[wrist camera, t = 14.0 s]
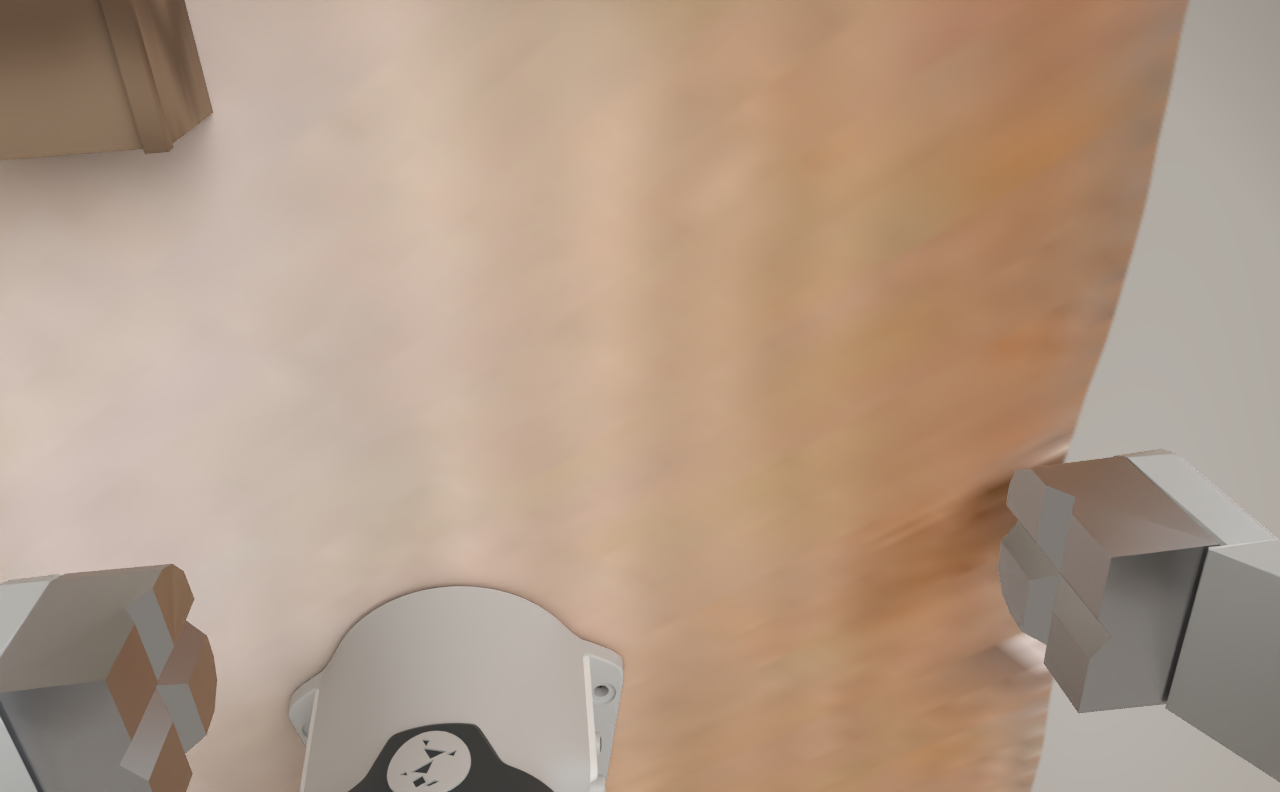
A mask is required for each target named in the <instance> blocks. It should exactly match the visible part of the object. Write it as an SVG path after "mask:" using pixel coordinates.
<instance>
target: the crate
mask: <svg viewBox="0 0 1280 792" xmlns="http://www.w3.org/2000/svg"><path fill="white" fill-rule="evenodd" d="M211 113H213V111H212V107H211V103H210V99H209V95H208V91H207V87H206V83H205V80H204V76H203V72H202V68H201V64H200V60H199V56H198V52H197V48H196V44H195V40H194V37H193V33H192V29H191V25H190V21H189V17H188V13H187V9H186V5H185V1H184V0H0V160H9V159H21V158H34V157H46V156H58V155H70V154H83V153H95V152H107V151H119V150H132V149H144V152H145V154H147V153H159V152H168V151H170V150H171V149H172V148H173V145H172V143H173V142H175V141H176V140H177V139H178V138H180V137H181V136H182V135H184V134H185V133H186V132H188V131H189V130H190V129H192V128H193V127H194V126H196V125H197V124H198V123H200V122H201V121H202V120H203V119H205V118H206V117H207V116H209V115H210V114H211Z"/></svg>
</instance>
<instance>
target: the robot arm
mask: <svg viewBox="0 0 1280 792" xmlns="http://www.w3.org/2000/svg"><path fill="white" fill-rule="evenodd" d="M1006 505H1007V506H1008V508H1009V509H1010V510H1011V512H1012V513H1013V514H1014V516H1015V517H1016V518H1017V520H1018V522H1017V523H1016V524H1015V526H1014V527H1013V528H1012V529H1011V530H1010V531H1009V532H1008V534H1007V535H1006V536H1005V537H1004V538H1003V539H1002V541H1001V546H1000V556H999V566H998V570H999V576H1000V583H1001V589H1002V595H1003V597H1004V600H1005V602H1006V605H1007V607H1008V609H1009V612H1010V614H1011V616H1012V617H1013V619H1014V620H1015V622H1016V623H1017V625H1018V626H1019V628H1020V629H1021V631H1022V632H1024V633H1026V634H1028V635H1029V636H1031V637H1033V638H1035V639H1037V640H1039V641H1041V642H1043V643H1044V644H1046V645H1047V647H1046V653H1045V658H1044V664H1045V666H1046V667H1047V669H1048V670H1049V672H1050V673H1051V674H1052V676H1053V677H1054V679H1055V680H1056V682H1057V683H1058V684H1059V686H1060V687H1061V689H1062V690H1063V692H1064V693H1065V694H1066V696H1067V697H1068V699H1069V700H1070V702H1071V703H1072V705H1073V706H1074V707H1075V709H1076V710H1077V712H1078V713H1084V712H1094V711H1104V710H1113V709H1123V708H1132V707H1142V706H1151V705H1160V704H1166V709H1168V710H1169V711H1171V712H1172V713H1174V714H1175V715H1177V716H1178V717H1180V718H1182V719H1183V720H1185V721H1186V722H1188V723H1189V724H1191V725H1192V726H1194V727H1196V728H1197V729H1198V730H1200V731H1201V732H1203V733H1205V734H1206V735H1208V736H1209V737H1211V738H1212V739H1214V740H1215V741H1217V742H1219V743H1220V744H1222V745H1223V746H1225V747H1226V748H1228V749H1230V750H1231V751H1232V752H1234V753H1235V754H1237V755H1239V756H1240V757H1242V758H1243V759H1245V760H1247V761H1248V762H1249V763H1251V764H1253V765H1254V766H1256V767H1257V768H1259V769H1260V770H1262V771H1263V772H1265V773H1266V774H1268V775H1269V776H1271V777H1273V778H1274V779H1276V780H1277V781H1279V782H1280V539H1277V538H1276V537H1275V536H1274V535H1273V534H1271V533H1270V532H1269V531H1268V530H1267V529H1265V528H1264V527H1263V526H1262V525H1261V524H1260V523H1258V522H1257V521H1256V520H1255V519H1254V518H1252V517H1251V516H1250V515H1249V514H1248V513H1247V512H1245V511H1244V510H1243V509H1242V508H1241V507H1239V506H1238V505H1237V504H1236V503H1235V502H1234V501H1232V500H1231V499H1230V498H1229V497H1228V496H1226V495H1225V494H1224V493H1223V492H1222V491H1220V490H1219V489H1218V488H1217V487H1216V486H1215V485H1213V484H1212V483H1211V482H1210V481H1209V480H1207V479H1206V478H1205V477H1204V476H1203V475H1201V474H1200V473H1199V472H1198V471H1197V470H1196V469H1194V468H1193V467H1192V466H1191V465H1190V464H1188V463H1187V462H1186V461H1185V460H1184V459H1183V458H1181V457H1180V456H1179V455H1178V454H1176V453H1173V452H1170V451H1167V450H1163V449H1158V450H1151V451H1144V452H1138V453H1131V454H1124V455H1117V456H1114V457H1110V458H1104V459H1095V460H1088V461H1080V462H1071V463H1064V464H1056V465H1048V466H1040V467H1032V468H1025V469H1017V470H1016V472H1015V474H1014V476H1013V478H1012V480H1011V482H1010V485H1009V491H1008V498H1007V504H1006ZM193 601H194V597H193V594H192V592H191V589H190V586H189V584H188V581H187V579H186V576H185V574H184V571H183V570H181V569H179V568H178V567H176V566H175V565H173V564H165V565H155V566H144V567H133V568H122V569H112V570H101V571H90V572H79V573H69V574H64V575H48V576H40V577H31V578H23V579H14V580H8V581H6V582H3V583H1V584H0V792H186V790H187V787H188V785H189V782H190V779H191V776H192V771H191V768H190V766H189V763H188V760H187V758H186V755H185V753H187V752H188V751H189V750H190V749H191V748H192V747H193V746H194V745H196V744H197V743H198V742H199V741H200V740H201V739H202V738H203V737H205V736H206V734H207V731H208V728H209V725H210V722H211V719H212V716H213V713H214V709H215V697H216V685H217V677H216V670H215V663H214V656H213V653H212V650H211V647H210V644H209V640H208V637H207V635H205V634H204V633H202V632H201V631H200V630H198V629H197V628H195V627H194V626H193V625H191V624H190V623H188V622H187V621H186V617H187V615H188V613H189V610H190V608H191V606H192V603H193ZM623 680H624V663H623V660H622V658H621V657H620V656H619V655H618V654H617V653H615V652H614V651H612V650H610V649H607V648H605V647H603V646H600V645H597V644H595V643H592V642H589V641H586V640H583V639H581V638H579V637H578V636H576V635H575V634H573V633H572V632H571V631H570V630H568V629H567V628H566V627H565V626H564V625H563V624H562V623H561V622H560V621H559V620H558V619H556V618H555V617H554V616H553V615H551V614H550V613H549V612H547V611H546V610H544V609H543V608H541V607H540V606H538V605H536V604H534V603H532V602H530V601H528V600H526V599H524V598H521V597H519V596H516V595H513V594H510V593H507V592H503V591H499V590H494V589H489V588H482V587H471V586H450V587H439V588H432V589H427V590H422V591H418V592H414V593H411V594H408V595H405V596H402V597H399V598H397V599H394V600H392V601H390V602H388V603H386V604H384V605H382V606H380V607H378V608H377V609H375V610H374V611H372V612H371V613H369V614H368V615H366V616H365V617H364V618H362V619H361V620H360V621H359V622H358V623H357V624H356V625H355V626H354V627H353V628H352V629H351V630H350V631H349V632H348V633H347V634H346V636H345V637H344V638H343V640H342V641H341V643H340V644H339V646H338V648H337V650H336V651H335V653H334V655H333V657H332V659H331V660H330V662H329V663H328V665H327V666H326V667H325V669H324V670H323V671H322V672H320V673H319V674H317V675H316V676H314V677H313V678H311V679H310V680H308V681H307V682H306V683H304V684H303V685H302V686H300V687H299V688H298V689H297V690H296V691H295V692H294V693H293V694H292V696H291V698H290V703H289V711H288V716H289V719H290V721H291V723H292V725H293V726H294V728H295V730H296V731H297V733H298V735H299V736H300V738H301V740H302V741H303V743H304V744H305V746H306V753H305V759H304V766H303V772H302V779H301V785H300V792H605V785H606V779H607V774H608V768H609V762H610V756H611V750H612V744H613V739H614V733H615V727H616V721H617V715H618V709H619V703H620V698H621V692H622V686H623ZM601 685H603V686H604V687H601V688H598V686H601Z"/></svg>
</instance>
